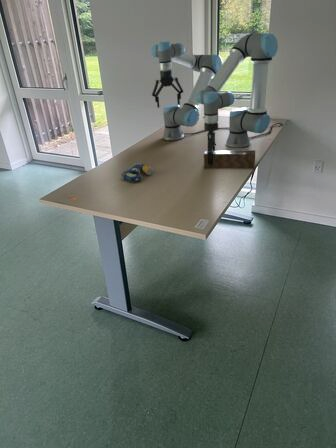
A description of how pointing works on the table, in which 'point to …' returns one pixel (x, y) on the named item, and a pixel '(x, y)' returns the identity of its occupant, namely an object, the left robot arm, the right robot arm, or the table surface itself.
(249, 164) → the bar
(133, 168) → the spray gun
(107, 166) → the table surface
